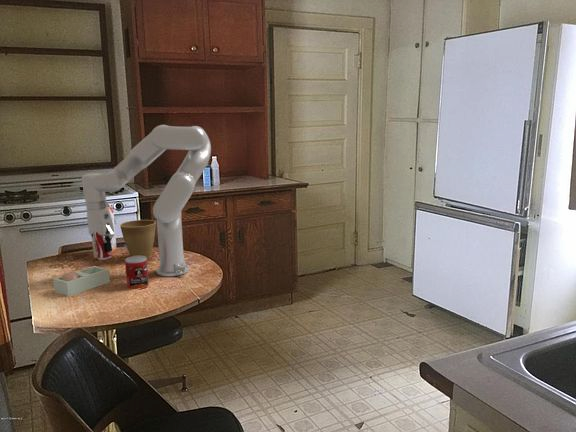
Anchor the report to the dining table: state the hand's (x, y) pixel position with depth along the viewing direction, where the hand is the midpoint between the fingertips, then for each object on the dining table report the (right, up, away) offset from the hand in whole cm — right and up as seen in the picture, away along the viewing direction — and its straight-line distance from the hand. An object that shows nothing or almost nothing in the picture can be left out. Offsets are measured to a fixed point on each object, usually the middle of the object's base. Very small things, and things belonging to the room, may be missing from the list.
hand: (104, 250), depth 195 cm
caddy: (-3, -13, -12) cm, 18 cm away
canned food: (+17, -13, -11) cm, 24 cm away
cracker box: (-11, -4, +32) cm, 34 cm away
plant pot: (+7, -5, +25) cm, 26 cm away
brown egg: (-6, -13, -16) cm, 21 cm away
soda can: (0, -3, +1) cm, 3 cm away
